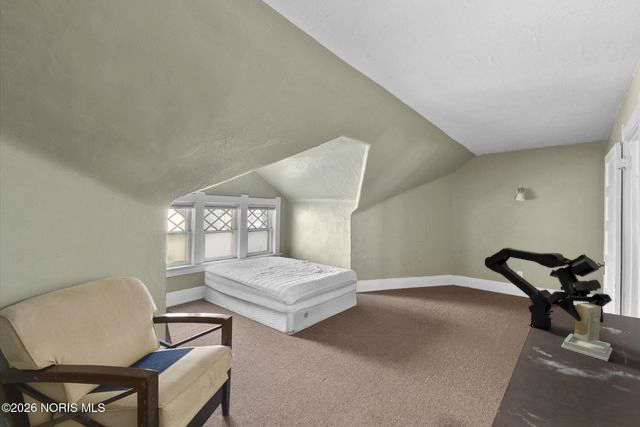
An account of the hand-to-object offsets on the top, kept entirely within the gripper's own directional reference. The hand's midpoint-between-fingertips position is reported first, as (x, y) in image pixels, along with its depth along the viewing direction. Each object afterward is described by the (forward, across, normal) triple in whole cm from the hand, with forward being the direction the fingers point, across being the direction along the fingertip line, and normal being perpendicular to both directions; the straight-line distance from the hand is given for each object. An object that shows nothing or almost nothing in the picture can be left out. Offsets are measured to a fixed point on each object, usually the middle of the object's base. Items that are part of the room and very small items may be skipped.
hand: (590, 321), depth 104 cm
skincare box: (+4, 0, +6) cm, 7 cm away
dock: (+6, 0, +8) cm, 10 cm away
